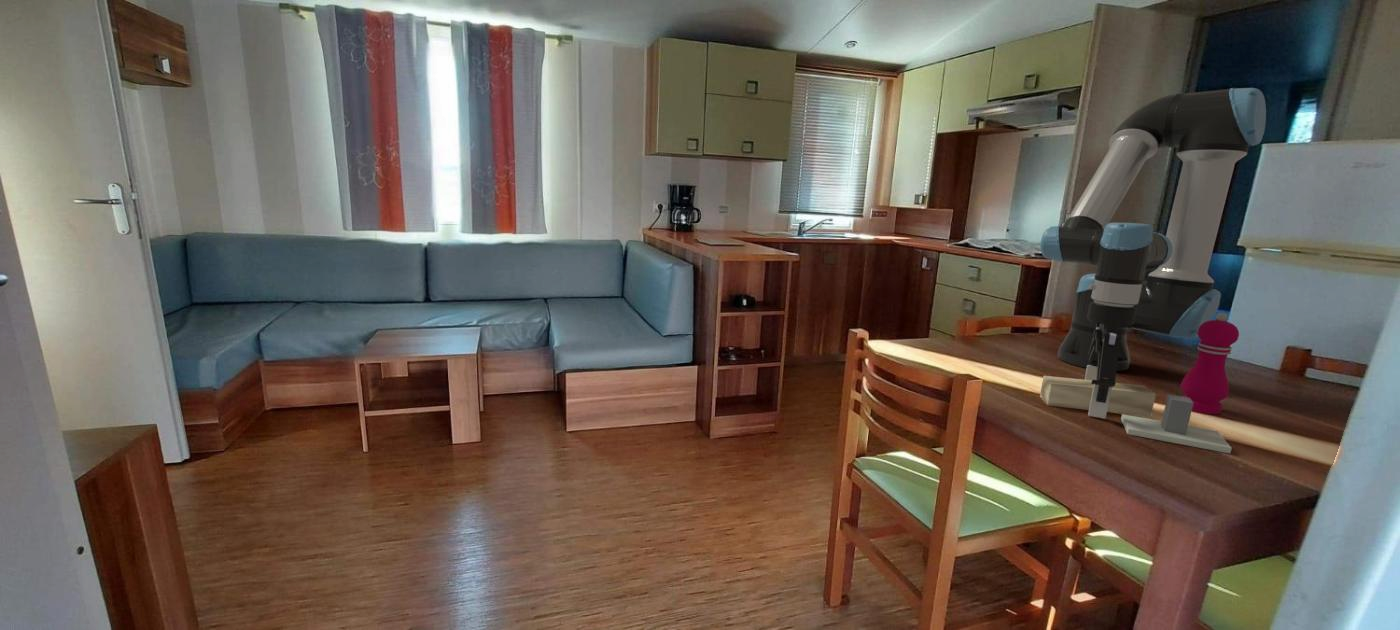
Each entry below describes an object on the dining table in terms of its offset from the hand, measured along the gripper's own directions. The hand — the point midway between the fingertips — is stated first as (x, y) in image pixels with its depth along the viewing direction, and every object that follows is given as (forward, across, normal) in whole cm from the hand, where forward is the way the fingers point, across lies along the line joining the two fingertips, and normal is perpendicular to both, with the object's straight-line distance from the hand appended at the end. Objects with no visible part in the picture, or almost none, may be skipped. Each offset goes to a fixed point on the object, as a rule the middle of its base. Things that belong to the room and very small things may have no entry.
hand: (1092, 405), depth 113 cm
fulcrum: (0, +9, +11) cm, 14 cm away
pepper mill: (0, -11, +19) cm, 22 cm away
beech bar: (0, 0, 0) cm, 1 cm away
